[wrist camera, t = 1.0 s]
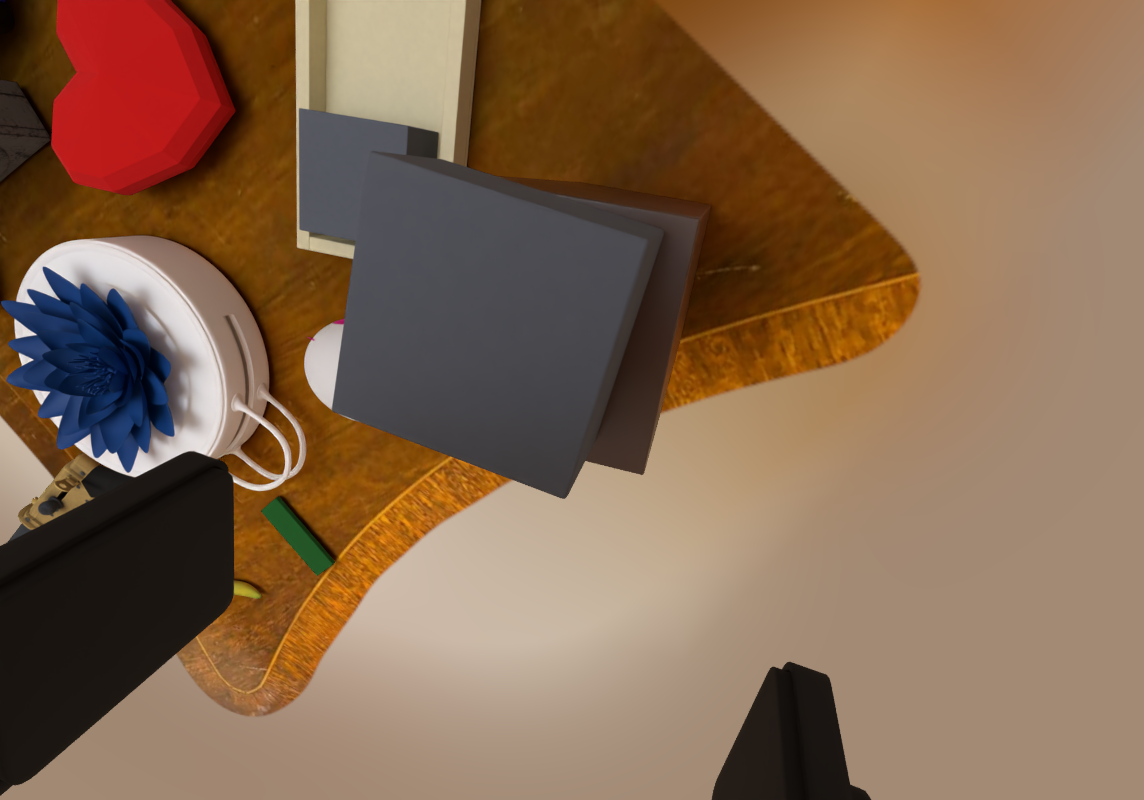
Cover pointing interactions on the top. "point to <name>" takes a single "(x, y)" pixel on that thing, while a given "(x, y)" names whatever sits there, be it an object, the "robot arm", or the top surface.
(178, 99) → the heart
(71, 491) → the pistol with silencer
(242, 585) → the fruit
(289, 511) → the green plastic strip
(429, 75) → the frame
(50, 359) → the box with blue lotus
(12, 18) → the toy car
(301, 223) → the seated pad
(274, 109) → the top surface
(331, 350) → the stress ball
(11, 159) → the camera
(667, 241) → the stand
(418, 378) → the loose pad
